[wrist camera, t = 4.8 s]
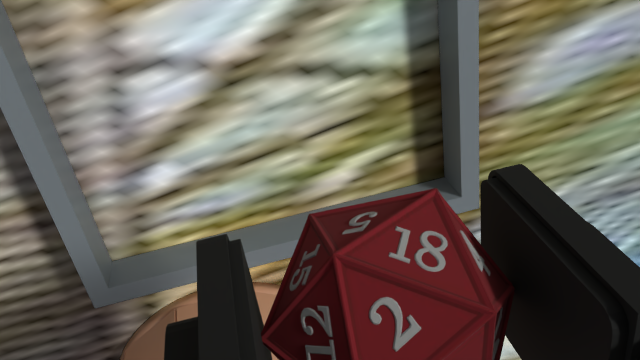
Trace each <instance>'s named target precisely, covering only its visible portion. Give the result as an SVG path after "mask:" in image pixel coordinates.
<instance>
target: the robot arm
mask: <svg viewBox="0 0 640 360" xmlns="http://www.w3.org/2000/svg"><path fill="white" fill-rule="evenodd" d="M481 246H482V247H483V248H484V249H485V251H486V252H487V253H488V254H489V256H490V257H491V258H492V259H493V261H494V262H495V263H496V264H497V266H498V267H499V268H500V270H501V271H502V272H503V273H504V275H505V276H506V277H507V278H508V280H509V281H510V282H511V283H512V285H513V287H514V288H515V290H514V296H513V300H512V305H511V310H510V314H509V319H508V324H507V328H506V333H505V335H506V337H507V338H508V340H509V341H510V343H511V344H512V346H513V347H514V349H515V350H516V352H517V353H518V355H519V356H520V358H521V359H522V360H640V267H639V266H637V265H636V264H635V263H634V262H633V261H632V260H631V259H630V258H629V257H627V256H626V255H625V254H624V253H623V252H622V251H621V250H620V249H619V248H617V247H616V246H615V245H614V244H613V243H612V242H611V241H610V240H609V239H607V238H606V237H605V236H604V235H603V234H602V233H601V232H600V231H598V230H597V229H596V228H595V227H594V226H593V225H591V224H590V223H588V222H586V221H585V220H584V219H583V218H582V217H581V216H580V215H579V214H577V213H576V212H575V211H574V210H573V209H572V208H571V207H570V206H569V205H567V204H566V203H565V202H564V201H563V200H562V199H561V198H560V197H559V196H558V195H556V194H555V193H554V192H553V191H552V190H551V189H550V188H549V187H548V186H546V185H545V184H544V183H543V182H542V181H541V180H540V179H539V178H538V177H536V176H535V175H534V174H533V173H532V172H531V171H530V170H529V169H528V168H526V167H525V166H524V165H522V164H518V165H514V166H509V167H505V168H501V169H497V170H493V171H491V172H490V174H489V176H488V180H484V181H482V183H481ZM196 260H197V303H198V316H197V317H193V318H189V319H185V320H181V321H177V322H173V323H169V324H168V325H167V326H166V331H165V348H164V360H272V355H271V351H270V350H269V349H268V348H267V347H266V346H265V345H264V344H263V342H262V337H261V332H262V330H263V327H264V324H263V320H262V316H261V313H260V309H259V305H258V301H257V298H256V294H255V290H254V287H253V283H252V279H251V275H250V272H249V268H248V264H247V261H246V257H245V253H244V249H243V246H242V242H241V239H237V240H233V241H229V238H228V235H227V234H223V235H219V236H215V237H210V238H206V239H202V240H198V241H197V242H196Z"/></svg>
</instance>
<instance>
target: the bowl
mask: <svg viewBox="0 0 640 360" xmlns="http://www.w3.org/2000/svg"><path fill="white" fill-rule="evenodd" d="M252 283H253V287H254V290H255V294H256V298H257V301H258V305H259V309H260V313H261V316H262V320H263V324H264V325H265V322H266V320H267V318H268V315H269V313H270V310H271V308H272V305H273V303H274V300H275V298H276V295H277V293H278V290H279V288H280V285H277V284H269V283H260V282H252ZM197 316H198V303H197V292H194V293H192V294H189V295H187V296H185V297H182V298H180V299H178V300H176V301H174V302H172V303H171V304H169V305H167V306H165V307H164V308H162V309H161V310H159V311H158V312H157V313H155V314H154V315H153V316H151V317H150V318H149V319H148V320H147V321H146V322H145V323H144V324H142V325H141V326H140V327H139V328H138V330H137V331H136V332H135V333H134V335H133V336H132V337H131V338H130V340H129V341H128V343H127V345H126V346H125V348H124V350H123V352H122V354H121V357H120V359H119V360H164V348H165V331H166V326H167V325H168V324H169V323H173V322H177V321H181V320H185V319H189V318H193V317H197ZM271 355H272V360H279V359H278V358H277V357H276V356H275V355H274V354H273V353H272V352H271Z"/></svg>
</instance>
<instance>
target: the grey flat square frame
mask: <svg viewBox="0 0 640 360" xmlns="http://www.w3.org/2000/svg"><path fill="white" fill-rule="evenodd" d="M438 23H439V48H440V74H441V99H442V125H443V150H444V176H445V177H444V178H440V179H436V180H432V181H428V182H424V183H420V184H416V185H412V186H408V187H404V188H400V189H396V190H392V191H388V192H384V193H380V194H376V195H372V196H368V197H364V198H361V199H357V200H353V201H349V202H345V203H341V204H337V205H333V206H329V207H325V208H321V209H317V210H313V211H309V212H305V213H301V214H297V215H293V216H289V217H285V218H281V219H277V220H274V221H270V222H266V223H262V224H258V225H254V226H250V227H246V228H242V229H238V230H234V231H230V232H226V233H222V234H218V235H214V236H210V237H215V236H219V235H223V234H227V235H228V238H229V241H233V240H237V239H241V242H242V246H243V249H244V253H245V257H246V261H247V264H248V268H252V267H256V266H259V265H263V264H267V263H271V262H275V261H278V260H282V259H286V258H290V257H292V255H293V253H294V250H295V248H296V245H297V243H298V241H299V238H300V236H301V233H302V231H303V228H304V226H305V223H306V220H307V218H308V215H309V214H311V213H317V212H322V211H326V210H331V209H336V208H341V207H346V206H351V205H356V204H361V203H366V202H371V201H376V200H381V199H386V198H391V197H396V196H400V195H405V194H410V193H415V192H420V191H425V190H429V189H433V188H437V189H438V191H439V192H440V194H441V195H442V197H443V198H444V199H445V200H446V202H447V203H448V204H449V205H450V207H451V208H452V209H453V210H454V212H455V213H456V214H458V213H462V212H466V211H469V210H473V209H477V208H479V0H438ZM0 108H1V110H2V112H3V114H4V116H5V118H6V121H7V123H8V125H9V127H10V129H11V131H12V133H13V135H14V138H15V140H16V142H17V144H18V146H19V148H20V150H21V152H22V155H23V157H24V159H25V161H26V163H27V165H28V167H29V169H30V172H31V174H32V176H33V178H34V180H35V182H36V184H37V186H38V189H39V191H40V193H41V195H42V197H43V199H44V201H45V204H46V206H47V208H48V210H49V212H50V214H51V216H52V218H53V221H54V223H55V225H56V227H57V229H58V231H59V233H60V235H61V238H62V240H63V242H64V244H65V246H66V248H67V250H68V252H69V255H70V257H71V259H72V261H73V263H74V265H75V267H76V270H77V272H78V274H79V276H80V278H81V280H82V282H83V284H84V287H85V289H86V291H87V293H88V295H89V297H90V299H91V301H92V304H93V306H94V308H99V307H103V306H107V305H110V304H114V303H118V302H122V301H126V300H130V299H133V298H137V297H141V296H145V295H149V294H152V293H156V292H160V291H164V290H168V289H172V288H175V287H179V286H183V285H187V284H191V283H194V282H197V260H196V242H197V241H198V240H202V239H206V238H210V237H206V238H202V239H198V240H194V241H191V242H187V243H183V244H179V245H175V246H171V247H167V248H163V249H159V250H155V251H151V252H147V253H143V254H139V255H135V256H131V257H127V258H123V259H119V260H115V261H112V260H111V258H110V256H109V253H108V251H107V248H106V246H105V244H104V241H103V239H102V237H101V234H100V232H99V230H98V227H97V225H96V223H95V220H94V218H93V216H92V213H91V211H90V208H89V206H88V204H87V201H86V199H85V197H84V194H83V192H82V190H81V187H80V185H79V183H78V180H77V178H76V175H75V173H74V171H73V168H72V166H71V164H70V161H69V159H68V157H67V154H66V152H65V150H64V147H63V145H62V143H61V140H60V138H59V135H58V133H57V131H56V128H55V126H54V124H53V121H52V119H51V117H50V114H49V112H48V110H47V107H46V105H45V102H44V100H43V98H42V95H41V93H40V91H39V88H38V86H37V84H36V81H35V79H34V77H33V74H32V72H31V70H30V67H29V65H28V62H27V60H26V58H25V55H24V53H23V51H22V48H21V46H20V44H19V41H18V39H17V37H16V34H15V32H14V29H13V27H12V25H11V22H10V20H9V18H8V15H7V13H6V11H5V8H4V6H3V4H2V1H1V0H0Z"/></svg>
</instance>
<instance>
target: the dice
mask: <svg viewBox="0 0 640 360" xmlns="http://www.w3.org/2000/svg"><path fill="white" fill-rule="evenodd" d="M514 290H515V288H514V287H513V285H512V283H511V282H510V281H509V280H508V278H507V277H506V276H505V275H504V273H503V272H502V271H501V270H500V268H499V267H498V266H497V264H496V263H495V262H494V261H493V259H492V258H491V257H490V256H489V254H488V253H487V252H486V251H485V249H484V248H483V247H482V246H481V244H480V243H479V242H478V241H477V239H476V238H475V237H474V236H473V234H472V233H471V232H470V231H469V229H468V228H467V227H466V226H465V224H464V223H463V222H462V221H461V219H460V218H459V217H458V216H457V214H456V213H455V212H454V210H453V209H452V208H451V207H450V205H449V204H448V203H447V202H446V200H445V199H444V198H443V197H442V195H441V194H440V192H439V191H438V189H437V188H433V189H429V190H425V191H420V192H415V193H410V194H405V195H400V196H396V197H391V198H386V199H381V200H376V201H371V202H366V203H361V204H356V205H351V206H346V207H341V208H336V209H331V210H326V211H322V212H317V213H311V214H309V215H308V218H307V220H306V223H305V226H304V228H303V231H302V233H301V236H300V238H299V241H298V243H297V245H296V248H295V250H294V253H293V255H292V258H291V260H290V263H289V265H288V268H287V270H286V273H285V275H284V278H283V280H282V283H281V285H280V288H279V290H278V293H277V295H276V298H275V300H274V303H273V305H272V308H271V310H270V313H269V315H268V318H267V320H266V322H265V325H264V327H263V330H262V332H261V337H262V342H263V344H264V345H265V346H266V347H267V348H268V349H269V350H270V351H271V352H272V353H273V354H274V355H275V356H276V357H277V358H278V359H279V360H500V356H501V351H502V347H503V342H504V338H505V333H506V328H507V324H508V319H509V314H510V310H511V305H512V300H513V296H514Z"/></svg>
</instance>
